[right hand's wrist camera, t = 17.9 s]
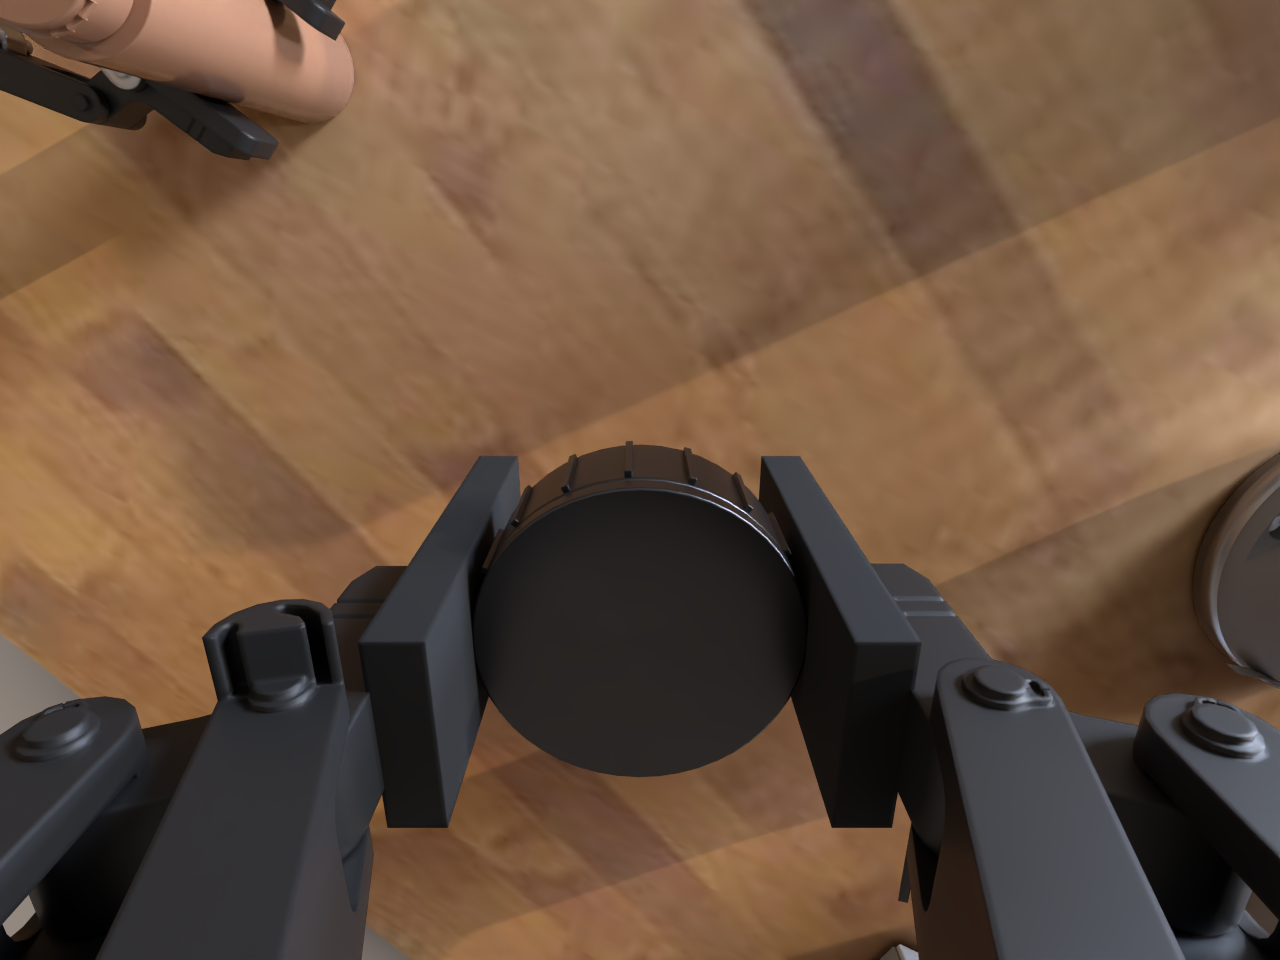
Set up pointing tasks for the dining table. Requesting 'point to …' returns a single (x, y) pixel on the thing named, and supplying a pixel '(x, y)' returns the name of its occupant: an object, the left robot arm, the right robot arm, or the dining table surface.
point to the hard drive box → (900, 954)
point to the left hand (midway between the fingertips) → (295, 87)
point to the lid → (639, 613)
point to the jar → (200, 49)
